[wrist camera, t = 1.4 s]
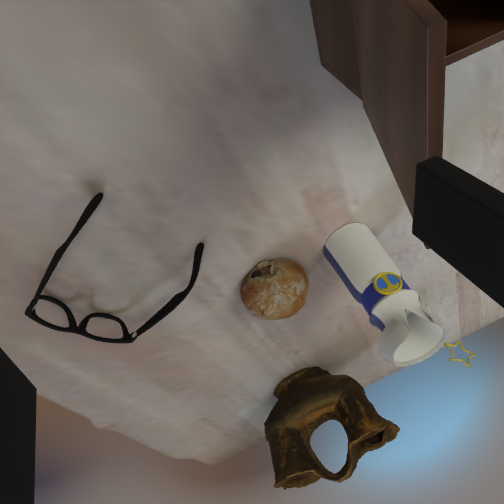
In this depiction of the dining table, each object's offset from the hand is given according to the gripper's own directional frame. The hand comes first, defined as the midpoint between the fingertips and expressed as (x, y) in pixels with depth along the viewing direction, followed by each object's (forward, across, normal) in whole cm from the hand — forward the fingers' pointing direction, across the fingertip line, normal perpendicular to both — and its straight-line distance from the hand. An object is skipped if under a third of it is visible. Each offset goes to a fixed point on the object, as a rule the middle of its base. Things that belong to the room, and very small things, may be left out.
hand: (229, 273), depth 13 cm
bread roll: (+37, +11, -37) cm, 53 cm away
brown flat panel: (+14, +16, -2) cm, 21 cm away
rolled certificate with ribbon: (+36, +23, -34) cm, 54 cm away
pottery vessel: (+40, +13, -70) cm, 82 cm away
